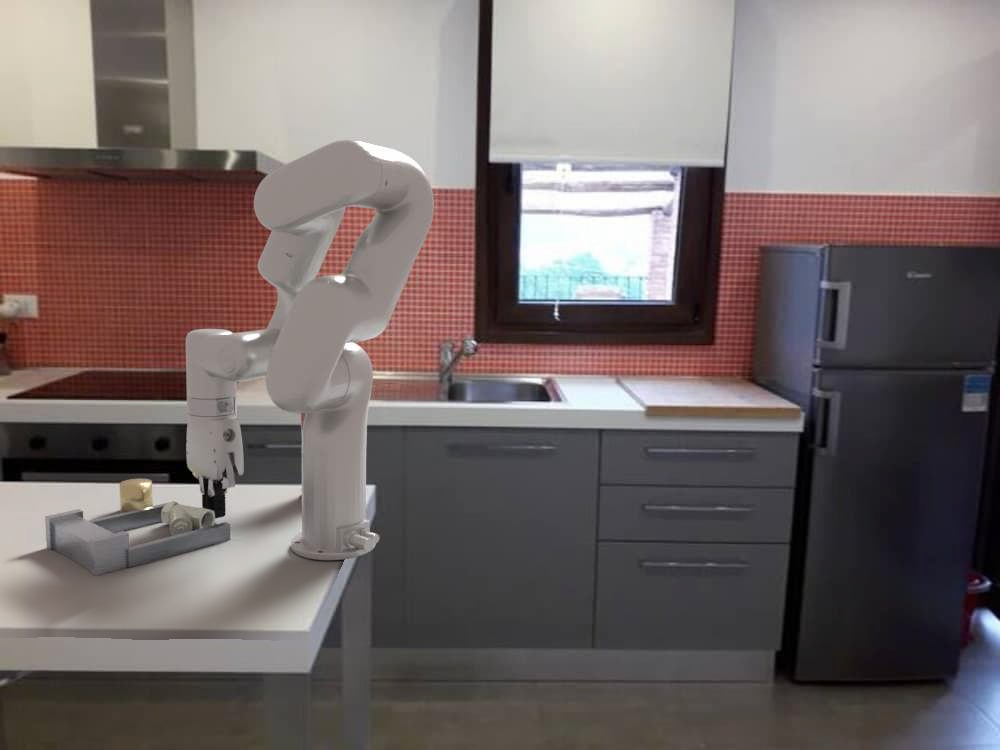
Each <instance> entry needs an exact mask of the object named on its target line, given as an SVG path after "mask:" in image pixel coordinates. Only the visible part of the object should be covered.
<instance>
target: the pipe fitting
mask: <svg viewBox="0 0 1000 750" xmlns="http://www.w3.org/2000/svg"><path fill="white" fill-rule="evenodd" d="M166 503H167V504H166V505H165V506H164V507H163V509H162V511H161V519H162V521H161V522H162V524H168V527H169V528H168V529H169V532H170V534H171V536H174V535H178V534H182V533H186V532H190V531H193V530H197V529H201V528H205V527H209V526H213V525H215V522H216V519H215V513H214V511H213V510H209V509H205V508H202V507H195V506H190V505H185V504H181V503H178V502H177V503H178V504H177V503H173V501H168V502H166Z"/></svg>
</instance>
